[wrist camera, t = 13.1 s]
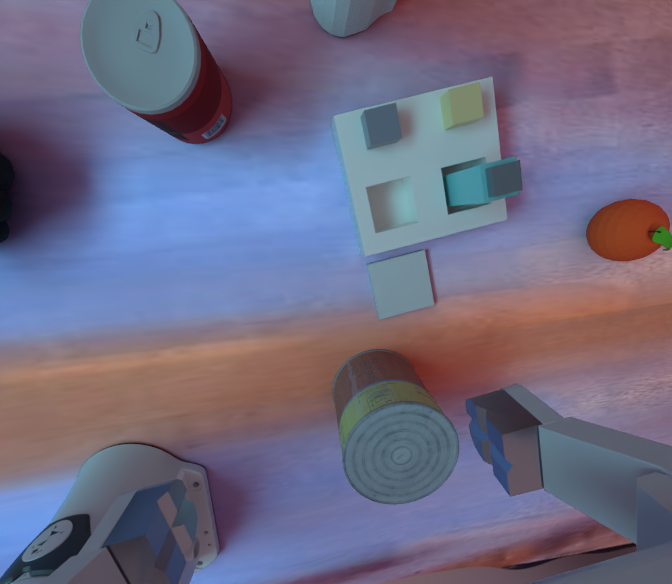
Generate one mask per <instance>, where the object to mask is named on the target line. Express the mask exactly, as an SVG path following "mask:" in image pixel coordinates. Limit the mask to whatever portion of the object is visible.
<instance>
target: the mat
mask: <svg viewBox="0 0 672 584" xmlns="http://www.w3.org/2000/svg"><path fill="white" fill-rule="evenodd" d="M367 268H368V272H369V277H370V281H371V286H372V290H373V295H374V299H375V304H376V308H377V312H378V317H379V319H384V318H388V317H392V316H395V315H399V314H403V313H407V312H411V311H414V310H418V309H422V308H426V307H429V306H433V305H434V300H433V294H432V288H431V282H430V277H429V271H428V265H427V259H426V254H425V250H419V251H415V252H411V253H408V254H404V255H400V256H396V257H392V258H388V259H385V260H381V261H377V262H373V263H369V264H367Z"/></svg>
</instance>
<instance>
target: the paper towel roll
mask: <svg viewBox="0 0 672 584" xmlns="http://www.w3.org/2000/svg"><path fill="white" fill-rule="evenodd" d="M396 1H397V0H311V5H312V9H313V14H314V16H315V18H316V20H317V21H318V23H319V24H320V26H321V27H322V28H323V29H324V30H326V31H327V32H328V33H330V34H331V35H334V36H339V37H346V36H349V35H352V34H355V33H358V32H361V31H364V30H366V29H367V28H368V27H369V26H370V25H371V24H372V23H373V22H374V21H375V20H376V19H377V18H378V17H380V16H382V15H383V14H385V13H387V12H392V10H393V8H394V6H395V3H396Z"/></svg>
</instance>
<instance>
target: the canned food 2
mask: <svg viewBox="0 0 672 584" xmlns="http://www.w3.org/2000/svg"><path fill="white" fill-rule="evenodd" d="M333 399H334V402H335V408H336V414H337V421H338V428H339V434H340V441H341V448H342V455H343V468H344V472H345V475H346V477H347V479H348V481H349V483H350V484H351V486H352V487H353V488H354V489H355V490H356V491H357V492H358V493H360V494H361V495H362V496H364V497H366V498H368V499H370V500H372V501H375V502H379V503H384V504H404V503H409V502H413V501H416V500H419V499H421V498H423V497H425V496H427V495H429V494H431V493H432V492H434V491H435V490H436V489H438V488H439V487H440V486H441V485H442V484H443V483H444V482H445V481H446V480H447V478H448V477H449V476H450V474H451V473H452V471H453V469H454V467H455V465H456V462H457V458H458V453H459V441H458V436H457V433H456V431H455V428H454V427H453V425H452V423H451V422H450V421H449V419H448V418H447V417H446V416H445V415H444V414H443V412H442V411H441V409H440V408H439V406H438V405H437V404H436V402H435V401H434V399H433V398H432V396H431V395H430V393H429V392H428V391H427V389H426V388H425V386H424V385H423V383H422V382H421V380H420V379H419V378H418V376H417V375H416V373H415V372H414V369H413V368H412V366H411V365H410V364H409V362H408V361H407V360H406V359H405V358H403V357H402V356H400V355H399V354H397V353H395V352H392V351H388V350H382V349H375V350H368V351H364V352H361V353H359V354H357V355H355V356H353V357H352V358H350V359H349V360H348V361H347V362H346V363H345V364H344V365H343V366H342V367H341V368H340V370H339V371H338V373H337V375H336V377H335V380H334V384H333Z"/></svg>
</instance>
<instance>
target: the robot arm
mask: <svg viewBox="0 0 672 584" xmlns="http://www.w3.org/2000/svg"><path fill="white" fill-rule="evenodd" d="M466 411H467V413H468V414H469V416H470V417H471V418H472V420H471V422H470V424H469V429H470V434H471V437H472V440H473V443H474V446H475V447H476V449H477V451H478V453H479V455H480V456H481V457H482V459H483V460H484V461H485V462H487V463H489V464H491V465H493V472H494V475H495V477H496V478H497V480H498V481H499V482H500V484H501V485H502V486H503V488H504V489H505V490H506V492H507V493H508V494H509V496H510V497H511V496H515V495H519V494H523V493H527V492H531V491H535V490H539V489H543V488H544V490H545V491H547V492H548V493H550V494H552V495H553V496H555V497H557V498H559V499H560V500H562V501H564V502H565V503H567V504H569V505H571V506H572V507H574V508H576V509H577V510H579V511H581V512H582V513H584V514H586V515H588V516H589V517H591V518H593V519H594V520H596V521H598V522H600V523H601V524H603V525H605V526H606V527H608V528H610V529H611V530H613V531H615V532H617V533H618V534H620V535H622V536H623V537H625V538H627V539H629V540H630V541H632V542H634V543H635V544H637V552H633V553H630V554H627V555H623V556H620V557H616V558H613V559H609V560H606V561H603V562H599V563H596V564H593V565H589V566H586V567H582V568H579V569H576V570H572V571H569V572H565V573H562V574H559V575H555V576H552V577H548V578H545V579H542V580H538V581H535V582H531V583H528V584H672V446H669V445H665V444H662V443H658V442H655V441H651V440H648V439H645V438H641V437H638V436H634V435H631V434H627V433H624V432H620V431H617V430H614V429H610V428H607V427H603V426H600V425H596V424H593V423H589V422H586V421H583V420H579V419H576V418H572V417H568V418H563V417H562V416H561V415H559V414H558V413H557V412H556V411H554V410H553V409H552V408H550V407H549V406H548V405H547V404H545V403H544V402H543V401H541V400H540V399H539V398H538V397H536V396H535V395H534V394H532V393H531V392H530V391H528V390H527V389H526V388H525V387H523V386H522V385H519V384H515V385H512V386H509V387H505V388H502V389H500V390H497V391H494V392H490V393H487V394H483V395H480V396H476V397H472V398H469V399H466ZM196 482H198V483H196ZM218 553H219V542H218V536H217V530H216V525H215V519H214V513H213V508H212V502H211V496H210V491H209V485H208V479H207V474H206V470H205V469H204V468H203V467H202V466H199V465H196V464H192V463H188V462H183V461H180V460H178V459H176V458H175V457H173V456H171V455H170V454H168V453H166V452H164V451H162V450H160V449H157V448H154V447H151V446H146V445H140V444H123V445H117V446H113V447H109V448H107V449H104V450H102V451H100V452H98V453H96V454H95V455H93V456H92V457H91V458H90V459H89V460H88V461H87V462H86V463H85V464H84V465H83V467H82V468H81V470H80V472H79V474H78V476H77V479H76V481H75V483H74V484H73V486H72V488H71V490H70V492H69V493H68V495H67V497H66V498H65V500H64V502H63V503H62V505H61V506H60V508H59V509H58V511H57V512H56V514H55V515H54V517H53V518H52V520H51V521H50V523H49V524H48V526H47V527H46V528H45V529H44V530H43V531H42V532H41V533H40V534H39V535H38V536H37V537H36V538H35V539H34V540H33V541H32V542H31V543H30V544H29V545H28V546H27V547H26V548H25V550H24V551H23V552H22V553H21V554H20V555H19V556H18V557H17V559H16V560H15V561H14V562H13V563H12V565H11V566H10V567H9V568H8V569H7V571H6V572H5V573H4V574H3V575H2V577H1V578H0V584H189V583H190V581H191V579H192V576H193V574H194V573H195V572H197V571H199V570H201V569H203V568H205V567H206V566H208V565H209V564H210V563H211V562H212V561H214V560H215V559H216V557H217V555H218Z"/></svg>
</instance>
